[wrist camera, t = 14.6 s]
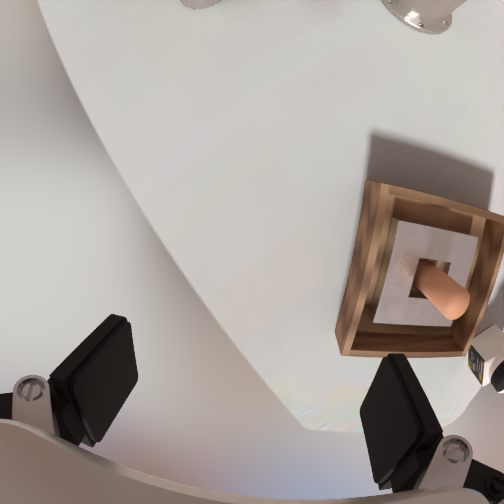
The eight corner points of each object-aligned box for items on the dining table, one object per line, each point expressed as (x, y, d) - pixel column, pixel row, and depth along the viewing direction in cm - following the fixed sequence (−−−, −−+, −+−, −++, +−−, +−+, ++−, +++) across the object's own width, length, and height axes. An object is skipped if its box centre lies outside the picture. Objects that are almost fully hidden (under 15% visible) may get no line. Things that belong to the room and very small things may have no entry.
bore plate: (391, 216, 34) (398, 220, 31) (469, 233, 33) (478, 237, 30) (368, 313, 38) (372, 322, 35) (443, 318, 37) (450, 326, 34)
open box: (366, 180, 34) (381, 182, 28) (487, 211, 32) (511, 218, 26) (334, 331, 40) (341, 355, 34) (449, 336, 39) (465, 356, 33)
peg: (415, 258, 35) (450, 286, 25) (437, 261, 34) (474, 289, 25) (407, 285, 36) (438, 319, 26) (429, 287, 36) (462, 320, 26)
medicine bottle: (467, 340, 39) (498, 379, 27) (494, 322, 37) (528, 356, 26) (467, 366, 40) (493, 404, 29) (493, 348, 39) (522, 383, 27)
